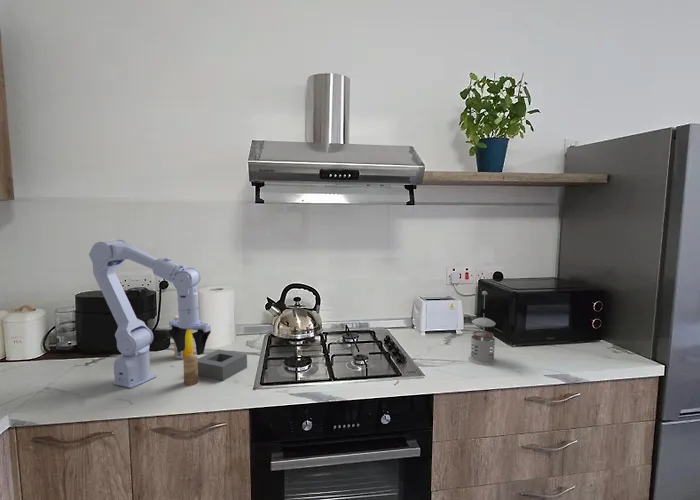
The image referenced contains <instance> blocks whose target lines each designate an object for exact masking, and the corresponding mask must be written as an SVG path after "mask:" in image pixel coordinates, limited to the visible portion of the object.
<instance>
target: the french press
mask: <svg viewBox="0 0 700 500" xmlns="http://www.w3.org/2000/svg"><path fill="white" fill-rule="evenodd" d="M481 295H483V308H485V307H486V306H485V302H486V296H487V295H488V292H487V291H486V290H483V291H481ZM471 323H472V324H473V325H475V326H477V327H478V330H475V331H474V330H473V332H472V335H471V339H470V341H471V343H470V344H471V345H470V346H471V347H470V356H469V357H468V358H467V360H468V361H469V362H470V363H472V364H475V365H478V366H479V365H480V366H493V365H496V364H497V360H496V359H495V345H496V344H495V343H496V341H495V339H496V338H495V337H494V336H495V334H494V333H493V332H490V331H486V330H485V328H491V327H495V326H496V322H495V321H494V320H492V319H490V318H487V317H485V314H483V317H477V318H474V319H473V320H471ZM481 328H482V330H481Z"/></svg>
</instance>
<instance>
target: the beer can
mask: <svg viewBox="0 0 700 500" xmlns="http://www.w3.org/2000/svg"><path fill="white" fill-rule="evenodd" d="M173 320H179V314H177V315H175V316H174V318H173ZM192 333H193V330H191V329H187V330H186V335H185V350H183V351H181V352H178V350H177V347H176V344H175V342H174V341H173V342H174V343H173V344H174V357H175V358H176V359H177V360H183V358H184V357H186V356H189V355H194V347H193V346H194V344H193V341H194V338H193V335H192Z"/></svg>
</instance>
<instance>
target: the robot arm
mask: <svg viewBox="0 0 700 500" xmlns="http://www.w3.org/2000/svg"><path fill="white" fill-rule="evenodd" d="M88 256H89V258H90V260H91V263H92V273H93V276H94V278H95V281H96V283H97V285H98V287H99V289H100V291H101V293H102V295H103V298H104V299H105V302H106V304H107V306H108V308H109V310H110V312H111V314H112V316H113V318H114V321H115V322H116V326H117V329H116V331H115V333H114V337H115V339H116V347H117V348H116V349H117V350H118V351H119V352H120V354H121V356H119V357H117V358H116V359H115V360H114V363H113V372H114V381H113V382H112V385H117V386H121V387H125V388H129V389H132V388H135V387H136V386H137V387H138V386H139V385H141V384H143V383H146V382H148V381H150V380H152V379H155V378H157V376H158V375H156V374H155V373H154V374H153V373H151V370H150V369H151V363H150V362H151V361H150V345H151V344H152V342H153V341H154V334H153V331H152V330H151V329H150V328H149V327H148V326H147V325H146V324H145V321H143V320H141V319H139V318H137V315H136V314H135V311H134V310H133V307H132V305H131V302H130V301H129V299H128V297H127V295H126V292H125V289H124V288H123V286H122V283H121V281H120V279H119V278H118V277H119V276H118V275H117V271H118V269H119V267H120V265H122V263H123V262H125V260H130V261H132V262H133V263H134V262H135V263H136V264H139V265H142V266H144V267H146V268H149V269H151V270H152V273H153V275H154V276H157V277H159V278H161V279H163V280H165V281H167V282H170V283H171V284H172V285H173V286H174V288H175V290H176V294H177V312H178V313H177V315H179V320H174V319H173V320H169V321H168V326H169V327H168V328H170V329H169V330H168V333H169V335H170V336H171V338H172V339H173V342H175V344H176V347H177V350H178V352H181V351H183V350H185V335H186V330H187V329H191V330H192V331H195V332H192V338H193V341H194V343H195V350H196V354H197V355H196V356H200V355H202V354H204V352H205V347H206V344H207V341H208V338H209V336H210V334H211V331H212V330H211V324H210V323H209V324H208V323H206V322H204V321H201V319H200V310H199V307H200V306H199V291H198V285H199V283H200V282H201V274H200V272H199V270H197V269H196V268H195V267H186V265H185V264H179V263H177V262H174V261H172V258H170V257H168V256H167V257H160V258H157V257H155V256H154V255H151V254H149V253H148V252H146V251H144V250H142V249H140V248H139V247H136V246H135V245H134V244H133V243H131V242H127V241H125V240H124V239H116V240H110V241H98V242H95V243H93V245H92V247H91V249H90V251H89V253H88Z"/></svg>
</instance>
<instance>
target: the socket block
mask: <svg viewBox="0 0 700 500" xmlns="http://www.w3.org/2000/svg"><path fill="white" fill-rule="evenodd" d="M197 361H198V377H203V378H207V379H212V380H217V381H222V382H223V381H226V380H227V379H229V378H230V377H233V376H234V375H236V374H237V373H241V371H244V370H245V369H247V368H248V354H247V353H246V354H245V353H242V352H236V351H230V350H224V349H223V350H222V349H217V350H214V351H212V352H210V353H208V354H205V355H203V356H201V357H198V358H197Z"/></svg>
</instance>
